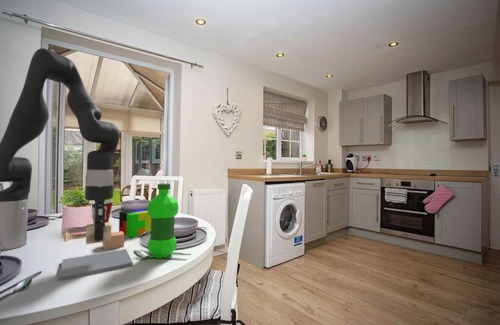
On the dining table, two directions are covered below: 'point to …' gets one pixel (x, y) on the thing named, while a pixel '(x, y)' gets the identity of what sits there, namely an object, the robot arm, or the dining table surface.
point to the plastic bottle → (162, 223)
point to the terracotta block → (115, 240)
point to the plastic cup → (108, 210)
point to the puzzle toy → (134, 222)
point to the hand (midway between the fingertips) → (98, 237)
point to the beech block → (91, 233)
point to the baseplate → (94, 264)
